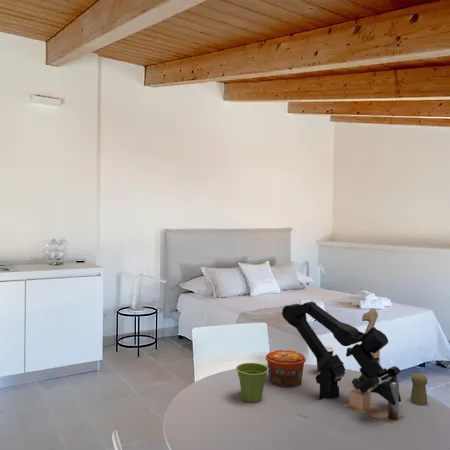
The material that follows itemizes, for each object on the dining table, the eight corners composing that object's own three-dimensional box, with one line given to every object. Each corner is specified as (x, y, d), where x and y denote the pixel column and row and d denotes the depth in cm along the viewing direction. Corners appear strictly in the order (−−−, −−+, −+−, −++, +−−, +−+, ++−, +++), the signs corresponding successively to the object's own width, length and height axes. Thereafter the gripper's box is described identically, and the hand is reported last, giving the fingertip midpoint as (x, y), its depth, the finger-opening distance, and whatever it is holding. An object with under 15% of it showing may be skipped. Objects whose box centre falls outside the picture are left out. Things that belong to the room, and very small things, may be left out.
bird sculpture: (357, 383, 178) (356, 303, 178) (388, 387, 173) (387, 305, 173) (353, 393, 168) (351, 309, 167) (386, 398, 163) (384, 311, 162)
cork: (430, 410, 153) (430, 378, 152) (411, 408, 154) (412, 377, 154) (425, 403, 159) (426, 372, 158) (407, 401, 160) (408, 371, 160)
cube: (349, 405, 153) (349, 391, 152) (357, 401, 156) (357, 387, 156) (362, 410, 149) (362, 395, 149) (370, 406, 152) (370, 391, 152)
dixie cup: (337, 376, 184) (337, 350, 184) (319, 377, 183) (319, 351, 182) (328, 370, 192) (328, 344, 192) (311, 371, 190) (311, 345, 190)
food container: (301, 392, 168) (301, 363, 168) (260, 385, 174) (260, 358, 173) (308, 377, 183) (309, 351, 183) (271, 372, 189) (271, 347, 188)
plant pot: (231, 402, 158) (231, 371, 158) (242, 390, 169) (242, 361, 169) (262, 408, 153) (263, 375, 153) (272, 395, 164) (272, 365, 164)
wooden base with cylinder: (343, 408, 153) (343, 372, 152) (355, 402, 158) (356, 366, 158) (392, 427, 139) (393, 387, 139) (404, 419, 145) (405, 381, 145)
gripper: (365, 367, 161) (393, 407, 153) (336, 379, 148) (366, 423, 140) (386, 350, 155) (416, 391, 147) (358, 361, 142) (390, 406, 135)
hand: (397, 403), depth 143 cm, fingers closed on wooden base with cylinder, 3 cm apart
